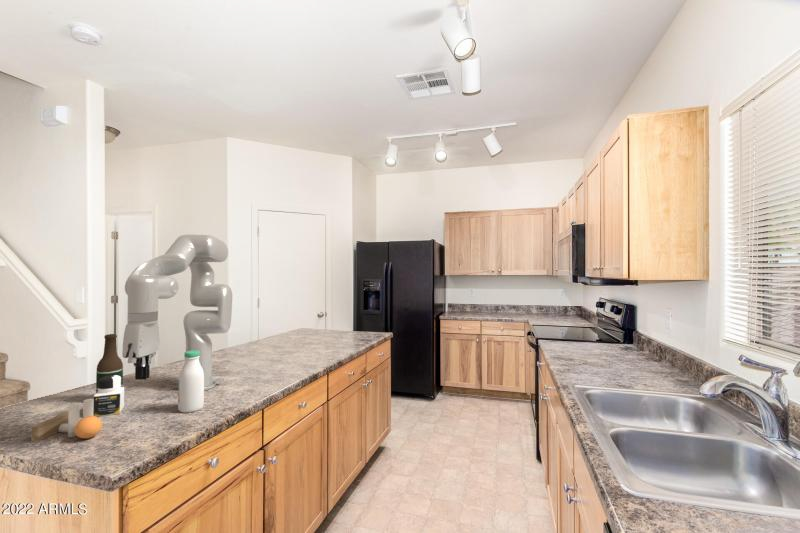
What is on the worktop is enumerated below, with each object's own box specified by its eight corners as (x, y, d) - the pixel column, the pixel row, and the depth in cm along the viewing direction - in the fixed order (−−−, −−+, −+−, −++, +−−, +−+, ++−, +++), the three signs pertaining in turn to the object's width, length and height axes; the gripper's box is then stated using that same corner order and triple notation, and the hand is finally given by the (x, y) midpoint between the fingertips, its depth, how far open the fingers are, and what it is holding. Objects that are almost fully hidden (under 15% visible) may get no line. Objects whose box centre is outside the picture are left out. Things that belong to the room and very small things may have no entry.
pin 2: (93, 425, 114) (94, 398, 114) (92, 428, 112) (92, 400, 112) (83, 427, 112) (84, 399, 112) (81, 430, 110) (82, 401, 110)
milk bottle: (208, 406, 131) (209, 350, 131) (189, 414, 123) (190, 354, 123) (192, 403, 133) (193, 348, 133) (172, 411, 126) (173, 352, 126)
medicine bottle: (92, 417, 120) (93, 380, 120) (98, 410, 126) (99, 375, 126) (119, 414, 123) (120, 378, 123) (124, 406, 129) (124, 372, 130)
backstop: (75, 423, 115) (76, 410, 115) (38, 440, 103) (39, 426, 103) (69, 423, 115) (69, 410, 115) (31, 440, 103) (31, 426, 103)
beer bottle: (107, 403, 132) (109, 336, 132) (90, 402, 133) (91, 335, 134) (127, 396, 140) (129, 333, 140) (110, 395, 141) (112, 332, 141)
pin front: (95, 424, 111) (66, 424, 111) (89, 422, 109) (60, 422, 109) (91, 432, 110) (63, 432, 110) (86, 431, 108) (56, 431, 108)
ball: (84, 420, 109) (107, 415, 110) (81, 442, 106) (105, 436, 108) (71, 417, 104) (96, 412, 105) (68, 440, 101) (93, 434, 103)
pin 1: (79, 432, 109) (80, 404, 109) (77, 436, 107) (78, 406, 107) (69, 434, 107) (69, 405, 107) (67, 438, 105) (67, 408, 105)
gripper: (147, 314, 118) (146, 371, 118) (111, 321, 103) (110, 386, 103) (170, 314, 118) (170, 371, 118) (138, 322, 103) (137, 387, 103)
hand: (142, 378), depth 111 cm, fingers closed
